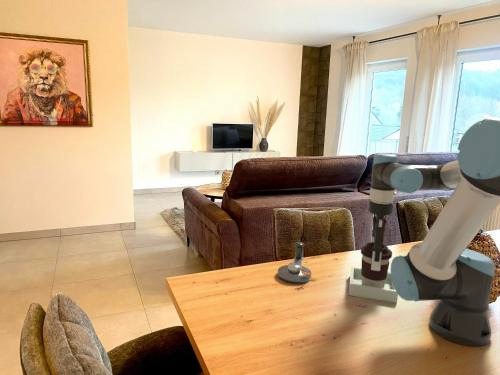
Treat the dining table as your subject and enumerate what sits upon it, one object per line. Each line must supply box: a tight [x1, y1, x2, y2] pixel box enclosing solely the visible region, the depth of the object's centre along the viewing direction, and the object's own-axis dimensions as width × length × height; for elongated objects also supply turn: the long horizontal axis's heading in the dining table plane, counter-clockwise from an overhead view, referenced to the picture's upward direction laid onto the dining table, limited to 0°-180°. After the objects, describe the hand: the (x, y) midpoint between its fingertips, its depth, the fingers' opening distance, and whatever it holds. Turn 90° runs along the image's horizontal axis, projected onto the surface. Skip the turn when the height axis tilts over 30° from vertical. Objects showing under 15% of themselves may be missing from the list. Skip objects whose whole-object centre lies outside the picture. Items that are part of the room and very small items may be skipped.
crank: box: [287, 241, 305, 274], centre depth 139 cm, size 13×5×7 cm, turn 163°
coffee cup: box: [360, 241, 393, 288], centre depth 127 cm, size 10×10×15 cm
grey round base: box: [277, 264, 318, 285], centre depth 136 cm, size 12×14×2 cm
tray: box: [348, 266, 399, 304], centre depth 128 cm, size 15×15×4 cm
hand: (374, 262), depth 127 cm, fingers open, 13 cm apart
